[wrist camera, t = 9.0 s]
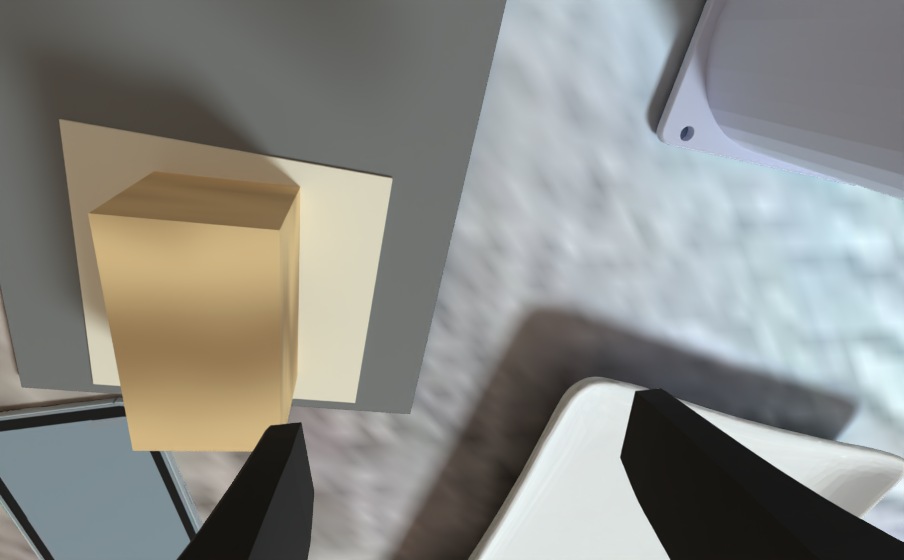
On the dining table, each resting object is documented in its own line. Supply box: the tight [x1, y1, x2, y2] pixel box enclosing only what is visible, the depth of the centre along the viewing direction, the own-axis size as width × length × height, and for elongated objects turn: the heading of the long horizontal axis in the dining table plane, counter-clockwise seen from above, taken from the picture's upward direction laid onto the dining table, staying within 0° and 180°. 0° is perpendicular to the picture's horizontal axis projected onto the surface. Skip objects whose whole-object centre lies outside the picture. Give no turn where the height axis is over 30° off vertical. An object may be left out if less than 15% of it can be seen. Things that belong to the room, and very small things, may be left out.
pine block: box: [88, 171, 300, 451], centre depth 16 cm, size 8×4×4 cm, turn 171°
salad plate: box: [468, 377, 904, 560], centre depth 27 cm, size 21×21×3 cm
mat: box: [0, 0, 506, 414], centre depth 16 cm, size 15×20×1 cm
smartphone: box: [0, 397, 203, 560], centre depth 23 cm, size 7×1×15 cm
